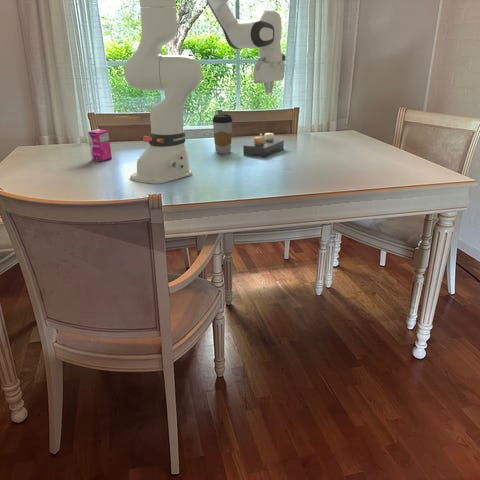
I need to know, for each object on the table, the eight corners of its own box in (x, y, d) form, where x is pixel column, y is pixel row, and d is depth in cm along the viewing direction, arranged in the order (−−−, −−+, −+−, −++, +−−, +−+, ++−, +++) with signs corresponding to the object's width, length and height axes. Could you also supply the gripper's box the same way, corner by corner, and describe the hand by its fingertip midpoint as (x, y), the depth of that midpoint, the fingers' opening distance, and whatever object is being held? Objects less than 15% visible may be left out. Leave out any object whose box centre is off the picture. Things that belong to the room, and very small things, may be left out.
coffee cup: (234, 149, 193) (233, 114, 187) (231, 154, 185) (231, 117, 179) (214, 149, 194) (213, 114, 188) (211, 154, 186) (210, 117, 180)
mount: (264, 157, 180) (265, 147, 178) (243, 154, 185) (243, 145, 183) (283, 149, 193) (283, 140, 192) (263, 146, 198) (263, 137, 196)
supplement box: (91, 160, 178) (86, 131, 173) (101, 157, 182) (97, 128, 178) (102, 162, 175) (98, 132, 170) (112, 158, 180) (109, 130, 175)
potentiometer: (262, 143, 187) (262, 134, 185) (257, 142, 188) (257, 134, 186) (264, 141, 189) (264, 133, 187) (259, 141, 190) (259, 133, 188)
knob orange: (260, 155, 183) (260, 138, 180) (252, 154, 185) (252, 137, 182) (265, 153, 186) (265, 137, 183) (256, 152, 188) (257, 136, 185)
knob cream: (270, 150, 190) (271, 135, 187) (262, 149, 192) (262, 134, 189) (275, 149, 193) (275, 133, 190) (266, 148, 195) (267, 132, 192)
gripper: (264, 57, 168) (263, 96, 173) (287, 56, 184) (286, 91, 189) (249, 57, 171) (249, 95, 176) (274, 56, 187) (273, 91, 192)
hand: (268, 93), depth 183 cm, fingers closed
